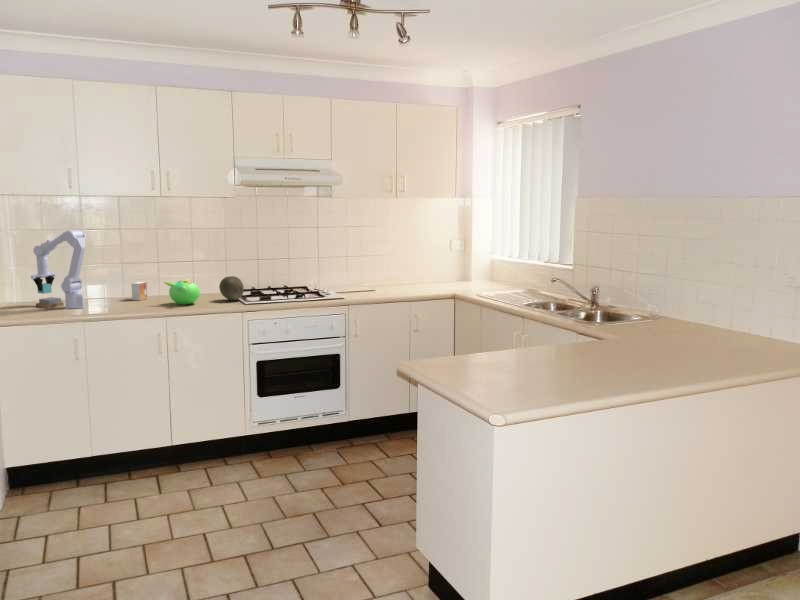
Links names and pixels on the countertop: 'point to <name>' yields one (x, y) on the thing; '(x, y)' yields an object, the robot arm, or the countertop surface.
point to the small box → (139, 291)
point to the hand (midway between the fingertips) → (44, 290)
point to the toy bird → (183, 292)
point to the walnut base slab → (49, 305)
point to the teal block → (45, 288)
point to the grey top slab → (50, 300)
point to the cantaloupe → (231, 288)
